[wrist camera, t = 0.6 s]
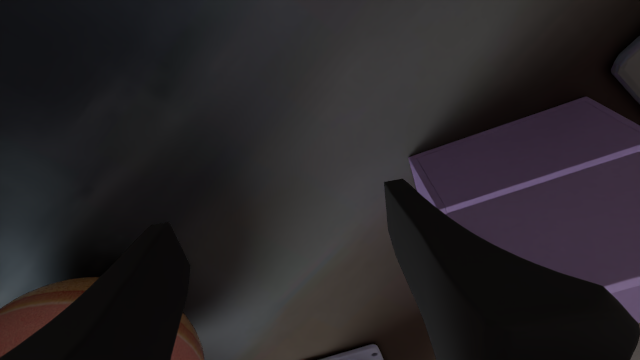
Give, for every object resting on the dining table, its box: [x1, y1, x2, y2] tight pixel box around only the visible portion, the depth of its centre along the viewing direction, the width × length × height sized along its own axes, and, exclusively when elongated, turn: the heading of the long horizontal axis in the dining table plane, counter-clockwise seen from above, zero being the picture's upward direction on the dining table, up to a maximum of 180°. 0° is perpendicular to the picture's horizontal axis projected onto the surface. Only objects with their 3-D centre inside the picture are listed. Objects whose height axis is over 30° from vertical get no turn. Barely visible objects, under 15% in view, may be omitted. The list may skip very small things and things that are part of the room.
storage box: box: [409, 96, 640, 323], centre depth 25 cm, size 14×11×6 cm
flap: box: [446, 152, 640, 293], centre depth 15 cm, size 7×11×1 cm
